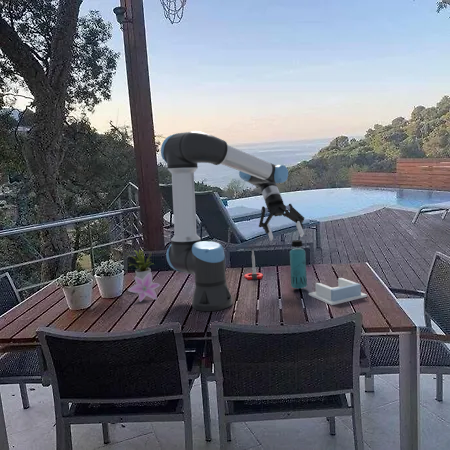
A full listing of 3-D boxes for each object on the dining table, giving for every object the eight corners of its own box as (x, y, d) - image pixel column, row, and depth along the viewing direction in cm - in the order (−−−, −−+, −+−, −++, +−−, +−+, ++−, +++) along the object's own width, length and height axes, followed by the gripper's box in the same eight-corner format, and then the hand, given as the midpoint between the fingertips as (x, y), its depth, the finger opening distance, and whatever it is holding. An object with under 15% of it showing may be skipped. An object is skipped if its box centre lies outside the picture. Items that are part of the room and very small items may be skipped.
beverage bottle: (290, 292, 171) (287, 242, 168) (291, 287, 178) (289, 239, 175) (307, 292, 170) (304, 242, 167) (308, 287, 176) (305, 238, 173)
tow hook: (243, 275, 201) (245, 280, 192) (242, 248, 200) (243, 251, 191) (261, 274, 201) (264, 279, 192) (260, 247, 200) (262, 250, 191)
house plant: (120, 283, 202) (117, 249, 199) (146, 276, 211) (143, 244, 208) (136, 289, 191) (132, 253, 188) (162, 281, 200) (159, 247, 197)
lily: (125, 304, 175) (126, 286, 170) (134, 285, 185) (136, 268, 180) (153, 311, 175) (156, 294, 170) (161, 292, 185) (164, 275, 179)
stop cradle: (331, 305, 153) (331, 292, 152) (308, 295, 166) (308, 283, 165) (367, 296, 159) (366, 284, 159) (342, 287, 172) (342, 275, 171)
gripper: (296, 201, 199) (312, 238, 186) (244, 206, 193) (257, 245, 181) (301, 190, 193) (317, 228, 180) (247, 195, 187) (260, 235, 175)
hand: (287, 237), depth 181 cm, fingers open, 13 cm apart
